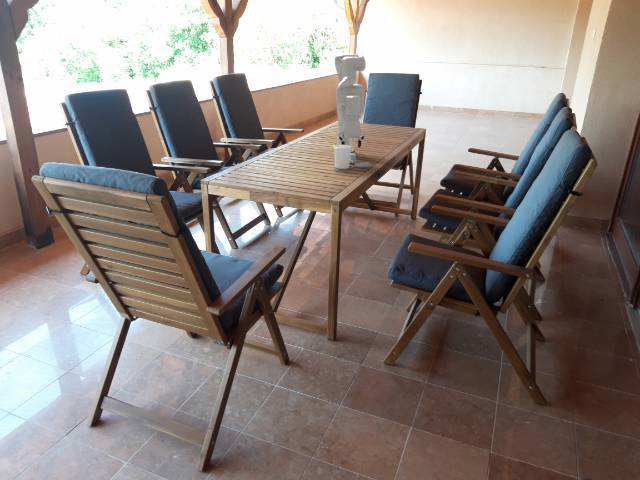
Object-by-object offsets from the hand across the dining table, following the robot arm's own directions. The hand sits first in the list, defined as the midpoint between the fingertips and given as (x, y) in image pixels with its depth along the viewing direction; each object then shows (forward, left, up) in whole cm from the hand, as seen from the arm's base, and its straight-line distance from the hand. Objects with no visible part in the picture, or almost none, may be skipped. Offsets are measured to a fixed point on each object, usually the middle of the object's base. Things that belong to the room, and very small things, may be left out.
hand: (351, 147), depth 283 cm
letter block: (-1, 0, -9) cm, 9 cm away
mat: (+8, +5, -9) cm, 13 cm away
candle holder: (+10, -8, -9) cm, 16 cm away
